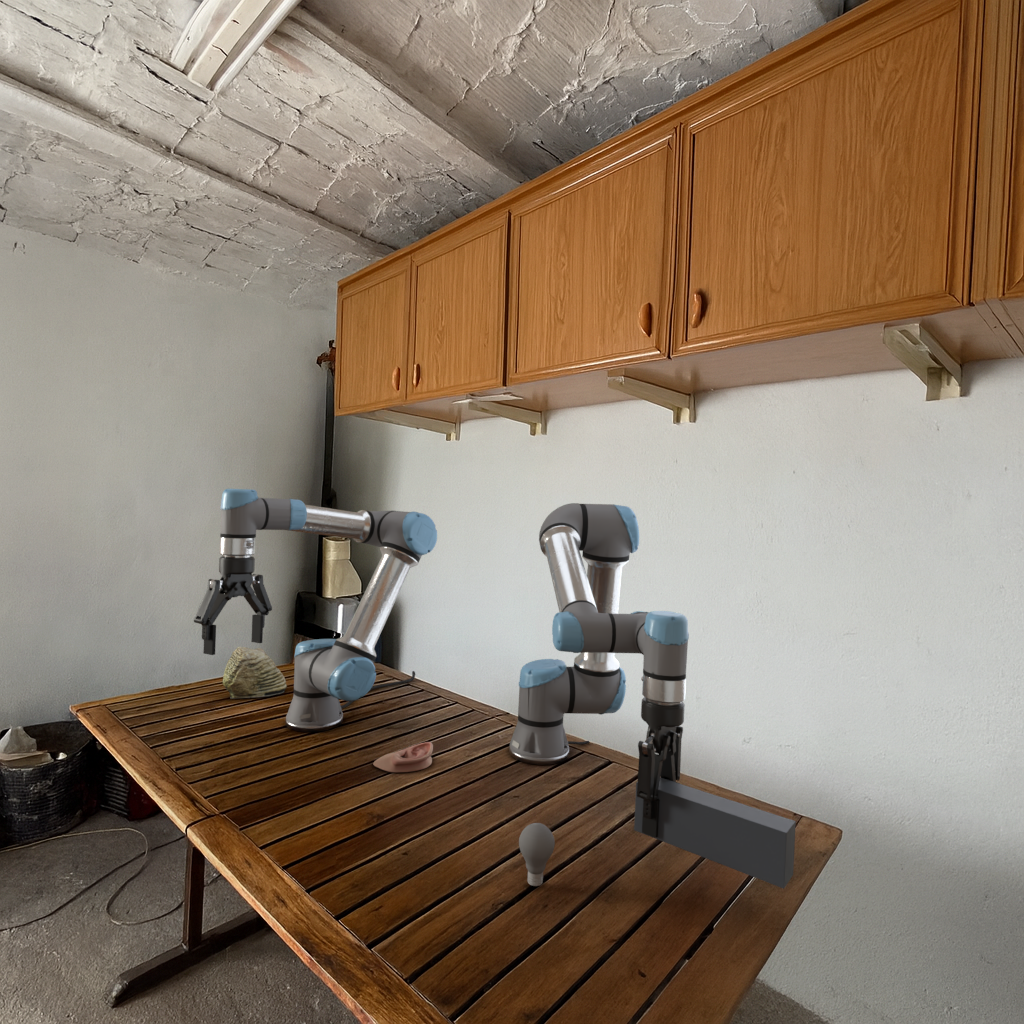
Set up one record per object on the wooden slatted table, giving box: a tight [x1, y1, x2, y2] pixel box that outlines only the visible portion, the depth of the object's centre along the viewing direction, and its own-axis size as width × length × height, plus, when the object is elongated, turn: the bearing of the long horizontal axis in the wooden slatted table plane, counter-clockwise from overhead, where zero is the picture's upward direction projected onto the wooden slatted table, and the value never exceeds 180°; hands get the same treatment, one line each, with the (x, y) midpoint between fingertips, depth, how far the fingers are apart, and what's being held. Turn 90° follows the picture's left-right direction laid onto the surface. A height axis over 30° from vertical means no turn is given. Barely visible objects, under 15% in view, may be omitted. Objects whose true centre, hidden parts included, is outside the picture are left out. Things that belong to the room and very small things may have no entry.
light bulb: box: [518, 822, 556, 887], centre depth 106 cm, size 6×6×10 cm
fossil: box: [222, 646, 288, 699], centre depth 198 cm, size 9×18×15 cm, turn 132°
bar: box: [633, 776, 797, 889], centre depth 107 cm, size 26×5×9 cm, turn 51°
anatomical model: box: [372, 741, 434, 773], centre depth 152 cm, size 13×4×12 cm
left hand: (234, 648), depth 146 cm, fingers open, 13 cm apart
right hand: (657, 828), depth 113 cm, fingers closed on bar, 5 cm apart
